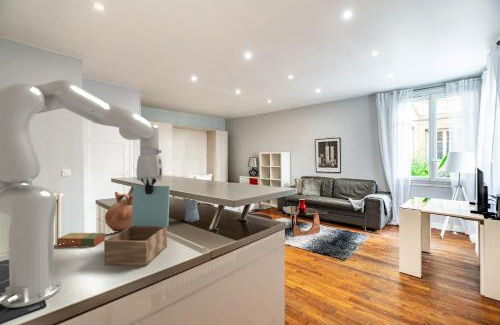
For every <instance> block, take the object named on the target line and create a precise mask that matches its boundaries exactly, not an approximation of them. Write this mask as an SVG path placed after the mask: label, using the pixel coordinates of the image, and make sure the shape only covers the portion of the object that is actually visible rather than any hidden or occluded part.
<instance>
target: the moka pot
mask: <svg viewBox="0 0 500 325" xmlns="http://www.w3.org/2000/svg"><path fill="white" fill-rule="evenodd" d="M182 199H183V204H184V206H185V211H184V212H185V213H184V222H186V221H187V222H186V223H193V222H198V221H199V220H200V214H199V211H198V210H199V209H198V206H200V205H201V202H199V200H198V201H195V200H190V199H185V198H183V197H182Z"/></svg>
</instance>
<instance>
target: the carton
mask: <svg viewBox="0 0 500 325" xmlns="http://www.w3.org/2000/svg"><path fill="white" fill-rule="evenodd" d="M105 234H106V233H105V232H69V233H66V234H65V235H62V236H60V237H58V238H57V244H56V246H57V245H58V247H57V248H66V247H65V246H84V247H83V248H94V247H97V246H99V245H101V243H104V241H105V240H106V235H105ZM72 241H73V242H72ZM63 243H64V244H63ZM59 244H61V245H59ZM85 246H86V247H85ZM87 246H89V247H87Z"/></svg>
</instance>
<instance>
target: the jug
mask: <svg viewBox="0 0 500 325" xmlns="http://www.w3.org/2000/svg"><path fill="white" fill-rule="evenodd" d="M114 197H115V199H116V200H115V201H116V202H115V203H114V204H112V205H111V206H110V207H109V208H108V209H107V211H106V212H105V214H104V220H105V223H106V225H107V227H109V229H110V230H112V231H113V232H115V233H120V232H121V231H123V230H125V229H127V228H129V227H131V221H132V203H133V193H130V194H127V193H123V194H121V193H119V192H118V191H115V192H114ZM124 197H125V198H126V200H123V198H124Z"/></svg>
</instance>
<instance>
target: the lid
mask: <svg viewBox="0 0 500 325" xmlns="http://www.w3.org/2000/svg"><path fill="white" fill-rule="evenodd" d="M170 189H171V186H170V185H153V193H152V194H146V192H145V185H133V187H132V194H133V203H132V221H131V226H152V227H167V228H168V227H169V215H170V214H169V213H170Z"/></svg>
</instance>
